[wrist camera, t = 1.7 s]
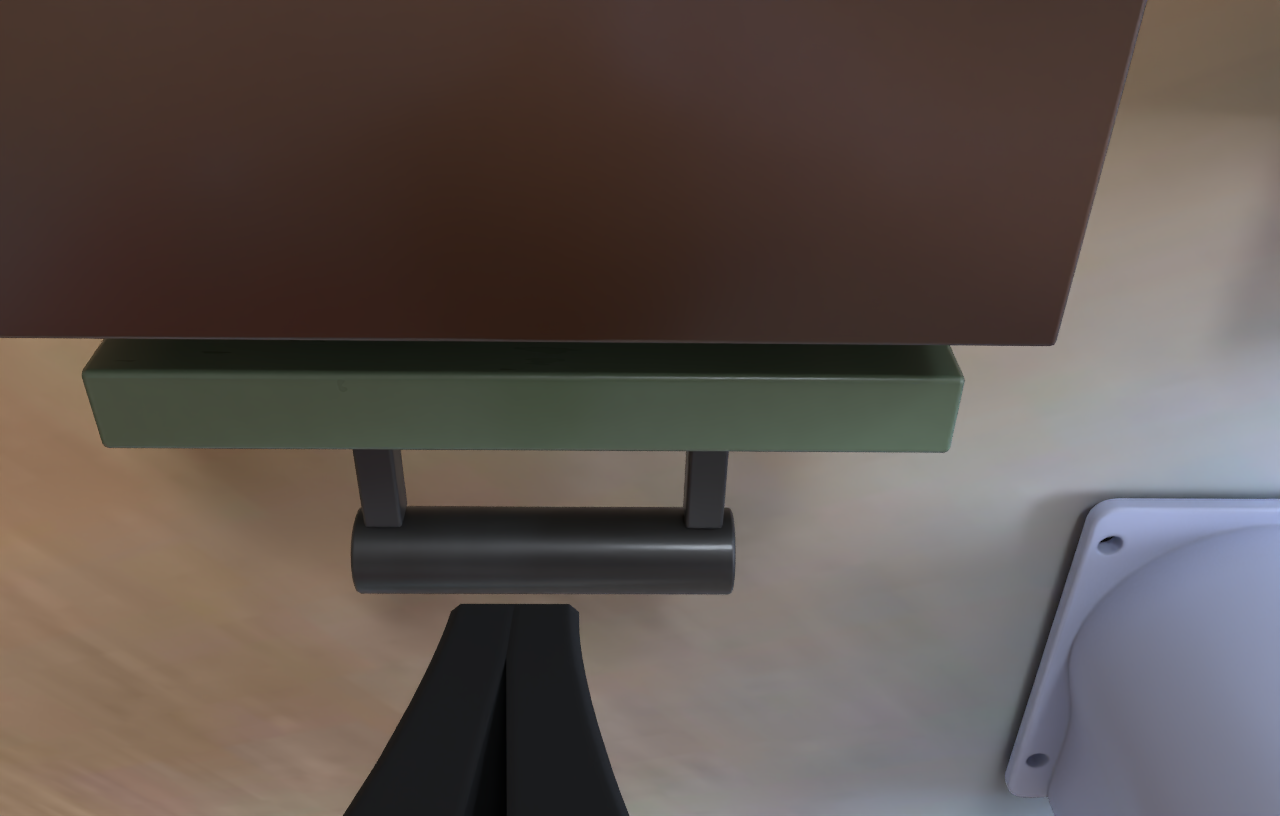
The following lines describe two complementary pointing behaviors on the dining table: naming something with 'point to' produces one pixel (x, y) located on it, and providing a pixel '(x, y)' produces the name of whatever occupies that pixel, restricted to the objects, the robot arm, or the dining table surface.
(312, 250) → the cabinet
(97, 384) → the drawer
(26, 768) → the dining table surface
